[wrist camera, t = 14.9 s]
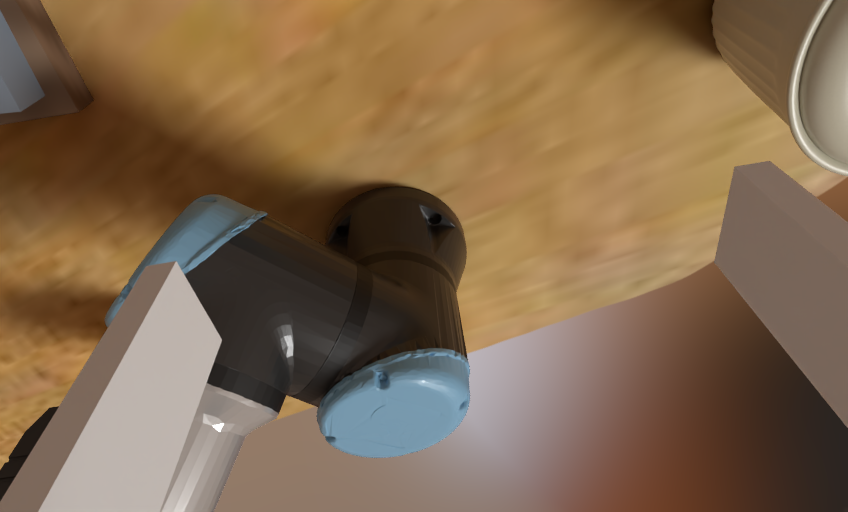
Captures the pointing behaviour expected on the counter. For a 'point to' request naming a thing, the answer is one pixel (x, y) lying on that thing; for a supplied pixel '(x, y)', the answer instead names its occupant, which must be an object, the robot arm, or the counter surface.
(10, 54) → the slate slab
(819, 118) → the canister
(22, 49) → the walnut slab
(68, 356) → the counter surface
